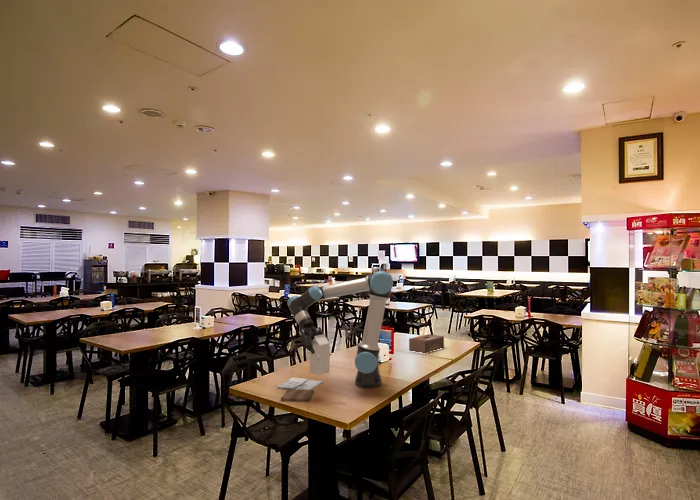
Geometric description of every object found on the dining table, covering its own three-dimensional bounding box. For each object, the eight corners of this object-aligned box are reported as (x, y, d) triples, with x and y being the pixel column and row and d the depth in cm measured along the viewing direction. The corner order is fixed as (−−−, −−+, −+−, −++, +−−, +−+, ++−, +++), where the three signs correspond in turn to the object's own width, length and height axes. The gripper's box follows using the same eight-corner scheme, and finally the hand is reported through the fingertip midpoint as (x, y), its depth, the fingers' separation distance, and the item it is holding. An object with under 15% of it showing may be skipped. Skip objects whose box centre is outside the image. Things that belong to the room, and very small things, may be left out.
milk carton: (329, 372, 200) (329, 335, 201) (319, 375, 195) (319, 337, 196) (320, 370, 205) (320, 333, 206) (309, 372, 200) (309, 335, 201)
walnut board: (314, 392, 209) (313, 389, 209) (308, 401, 195) (308, 398, 195) (288, 392, 210) (288, 389, 210) (280, 401, 196) (280, 398, 196)
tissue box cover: (424, 354, 293) (424, 341, 293) (409, 351, 303) (409, 338, 303) (444, 349, 310) (443, 336, 311) (428, 346, 321) (428, 334, 321)
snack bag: (293, 379, 234) (293, 376, 234) (324, 383, 227) (324, 379, 227) (275, 389, 217) (275, 385, 217) (308, 393, 209) (308, 389, 209)
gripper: (315, 323, 219) (335, 358, 207) (285, 327, 205) (304, 365, 193) (322, 314, 215) (342, 349, 203) (291, 318, 201) (311, 355, 189)
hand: (324, 357), depth 198 cm, fingers closed on milk carton, 7 cm apart
